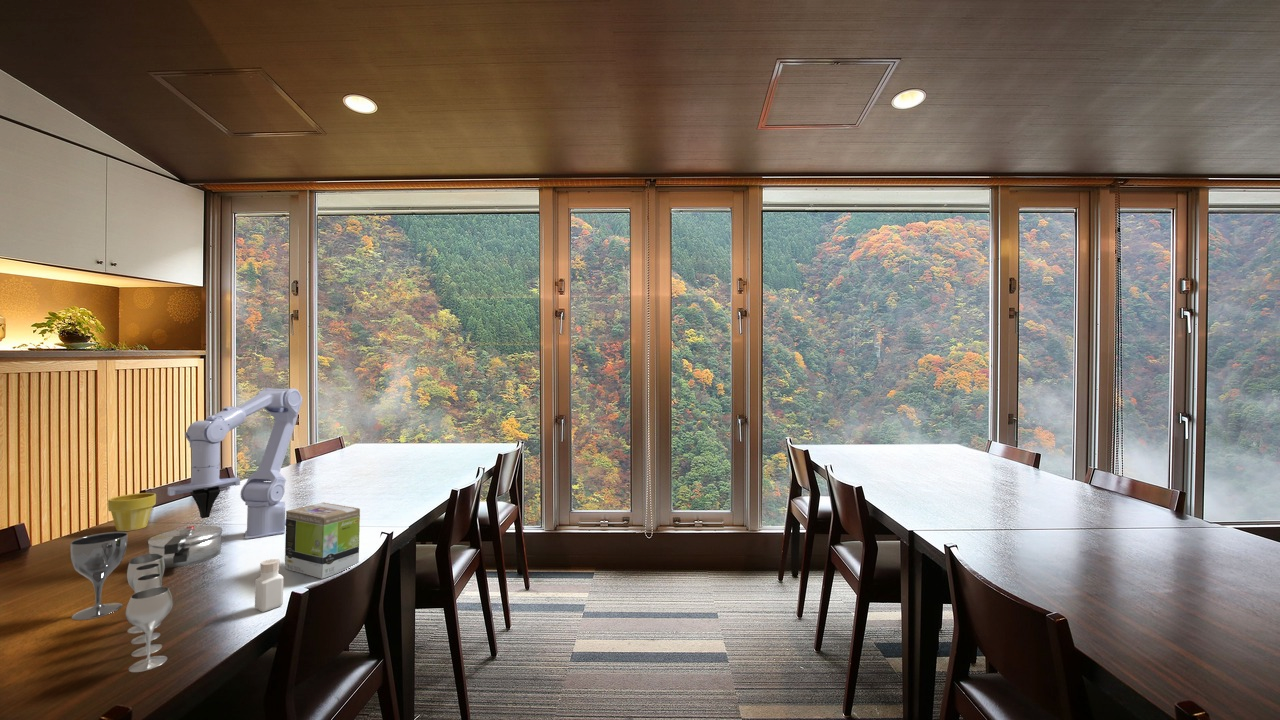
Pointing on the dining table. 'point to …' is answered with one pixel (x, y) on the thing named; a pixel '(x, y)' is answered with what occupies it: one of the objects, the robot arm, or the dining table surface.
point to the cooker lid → (183, 537)
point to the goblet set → (147, 607)
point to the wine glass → (98, 566)
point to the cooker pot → (190, 553)
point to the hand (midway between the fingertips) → (204, 517)
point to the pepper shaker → (269, 586)
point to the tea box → (322, 539)
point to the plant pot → (131, 510)
